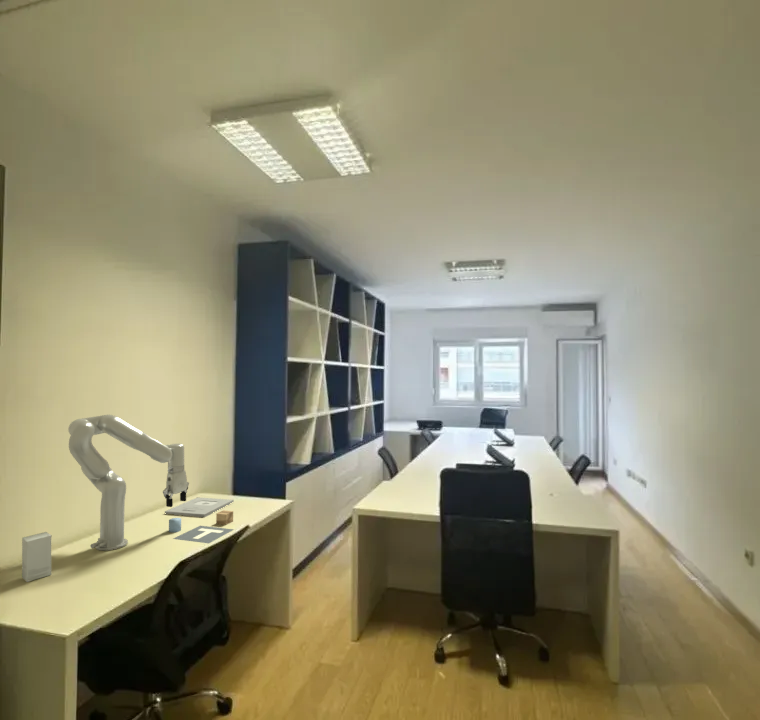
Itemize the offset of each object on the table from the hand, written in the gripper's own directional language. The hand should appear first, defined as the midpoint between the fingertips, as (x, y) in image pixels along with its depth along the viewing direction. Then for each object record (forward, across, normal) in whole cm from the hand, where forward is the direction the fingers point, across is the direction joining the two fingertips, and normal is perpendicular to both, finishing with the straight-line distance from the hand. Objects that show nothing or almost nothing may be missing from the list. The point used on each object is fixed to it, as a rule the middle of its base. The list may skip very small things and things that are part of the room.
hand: (176, 503), depth 233 cm
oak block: (+14, +17, -16) cm, 27 cm away
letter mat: (+14, -1, -17) cm, 22 cm away
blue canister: (+14, -1, 0) cm, 14 cm away
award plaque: (+15, +37, +14) cm, 42 cm away
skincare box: (+12, -59, +15) cm, 62 cm away
